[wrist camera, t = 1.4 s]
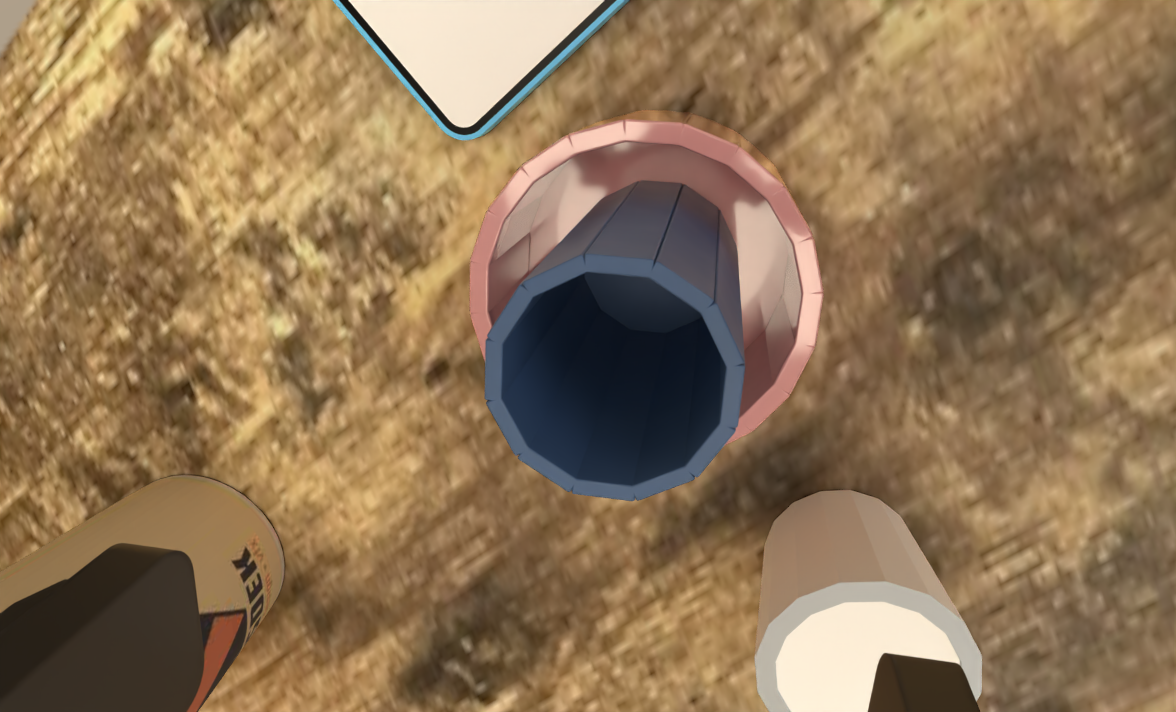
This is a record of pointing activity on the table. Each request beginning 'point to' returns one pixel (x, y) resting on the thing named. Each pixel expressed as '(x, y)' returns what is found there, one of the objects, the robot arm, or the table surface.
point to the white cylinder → (848, 605)
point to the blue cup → (624, 347)
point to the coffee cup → (192, 525)
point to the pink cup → (692, 157)
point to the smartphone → (475, 50)
